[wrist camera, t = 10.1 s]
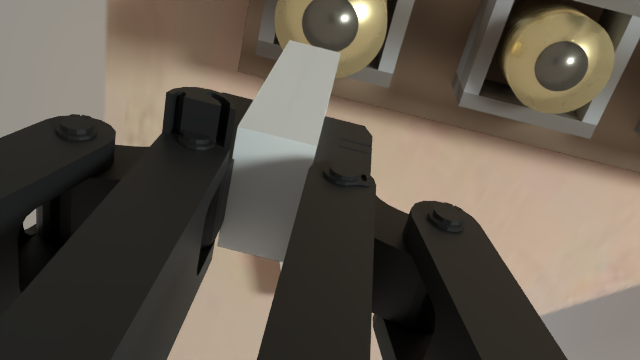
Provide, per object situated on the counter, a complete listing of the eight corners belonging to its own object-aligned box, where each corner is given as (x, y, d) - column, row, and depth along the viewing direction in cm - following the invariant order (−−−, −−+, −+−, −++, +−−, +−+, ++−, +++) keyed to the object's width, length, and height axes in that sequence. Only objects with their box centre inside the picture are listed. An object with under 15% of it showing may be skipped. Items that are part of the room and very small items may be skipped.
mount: (286, -151, 33) (261, -159, 26) (831, -11, 33) (945, 17, 26) (251, 53, 38) (223, 90, 32) (718, 171, 39) (788, 232, 32)
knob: (302, -61, 28) (285, -49, 23) (398, -36, 28) (401, -20, 23) (283, 36, 30) (264, 64, 26) (372, 59, 30) (370, 90, 26)
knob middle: (510, -15, 31) (532, 3, 26) (597, 8, 31) (634, 29, 26) (479, 71, 33) (494, 101, 29) (560, 91, 33) (588, 125, 29)
